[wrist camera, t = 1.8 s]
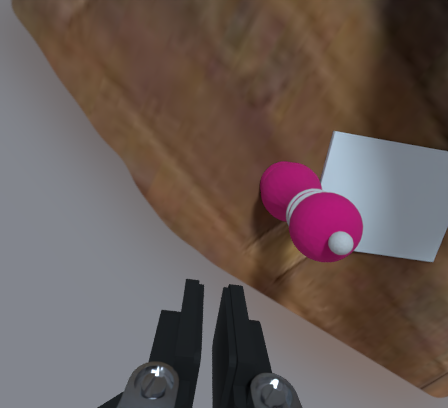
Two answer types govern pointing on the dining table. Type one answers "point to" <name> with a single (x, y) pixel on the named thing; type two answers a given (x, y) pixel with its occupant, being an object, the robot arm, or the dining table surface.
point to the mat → (391, 193)
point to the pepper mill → (311, 212)
